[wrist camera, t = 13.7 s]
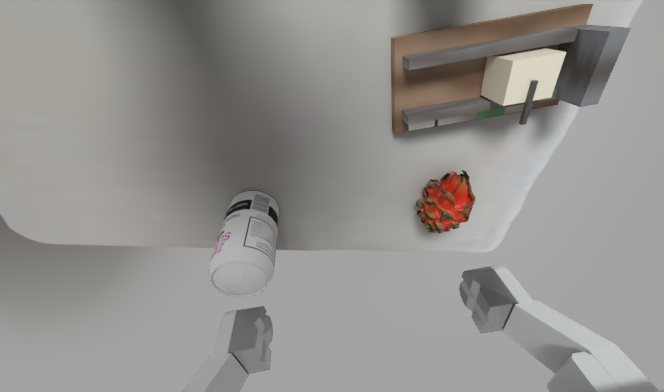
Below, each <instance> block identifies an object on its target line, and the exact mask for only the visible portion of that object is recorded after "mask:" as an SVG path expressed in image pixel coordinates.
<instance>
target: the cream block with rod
mask: <svg viewBox="0 0 664 392" xmlns="http://www.w3.org/2000/svg"><path fill="white" fill-rule="evenodd" d="M565 55H566V52H564V51H558V50H552V49H547V48H541V47H539V48H533V49H527V50H522V51H516V52H510V53H505V54H499V55H493V56H488V57H487V61H486V66H485V72H484V77H483V83H482V89H481V94H480V95H482V96H484V97H486V98H488V99H490V100H492V101H494V102H496V103H498V104H500V105H502V106H506V105H512V104H517V103H523V102H525V104H524V107H523V111H522V115H521V118H520V122H519V124H521V125H523V124H526V121H527V118H528V114H529V111H530V107H531V104H532V101H534V100H540V99H546V98H551V97H552V94H553V91H554V88H555V85H556V82H557V79H558V76H559V73H560V70H561V67H562V64H563V61H564V58H565Z"/></svg>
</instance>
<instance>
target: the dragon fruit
mask: <svg viewBox="0 0 664 392" xmlns="http://www.w3.org/2000/svg"><path fill="white" fill-rule="evenodd" d="M462 172H463V173H464V174H460V175H457V173H456V172H451V173H447V174H446V175H444V176H443V177H442V179H443V178H444V179H445V178H447V177H448V176H449V175H450V177H449V178H448V179H447V180H446V181H444V182H442V183H441V184H440V183H439V182H438V181H437V180H432V179H431V180H430V181H429V182H428V185H433V184H435V188H431V187H430V186H427V187H426V188H425V189H424V195H425V199H420V200H418V201H417V202H416V205H417V207H418V204H417V203H423V205H424V207H422V208H420V209H419V210H418V211H417V214H419V216H421V221H422V222H423V223H424V226H425V227H426V228H427V229H428V231H429V232H436V231H438V233H442V232H444V231H450V228H453V229H456V228H458V227H459V223H461V222H467V221H468V219H469V215H470V212H471V210H472V206H473V204H474V202H475V197H474V195H473V193H472V191H471V186H470V183H469V176H468V175H467V173H466V172H465V171H463V170H462ZM442 179H441V180H442ZM444 179H443V180H444ZM427 192H428V194H427ZM427 196H428V197H427Z"/></svg>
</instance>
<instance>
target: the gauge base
mask: <svg viewBox="0 0 664 392" xmlns="http://www.w3.org/2000/svg"><path fill="white" fill-rule="evenodd" d="M592 6H593V4H580V5H575V6H569V7H563V8H558V9H552V10H546V11H541V12H535V13H529V14H524V15H518V16H512V17H506V18H501V19H495V20H489V21H484V22H478V23H472V24H467V25H461V26H455V27H450V28H444V29H438V30H432V31H427V32H421V33H415V34H410V35H404V36H398V37H393V38H391V75H392V130H393V131H394V133H398V132H404V131H411V130H417V129H423V128H429V127H434V126H435V127H436V126H440V125H446V124H451V123H457V122H463V121H469V120H474V119H481V118H487V117H493V116H498V115H504V114H509V113H514V112H520V111H523V107H524V104H525V102H523V103H517V104H512V105H506V106H502V105H500V104H498V103H496V102H494V101H492V100H490V99H488V98H486V97H484V96H482V95H480V94H481V89H482V83H483V77H484V72H485V66H486V61H487V57H488V56H493V55H499V54H505V53H510V52H516V51H522V50H527V49H533V48H539V47H541V48H547V49H552V50H558V51H564V52H566V55H565V58H564V61H563V64H562V67H561V70H560V73H559V76H558V79H557V82H556V85H555V88H554V91H553V94H552V97H551V98H546V99H540V100H534V101H532V104H531V107H530V110H531V109H535V108H541V107H547V106H552V105H558V102H559V100H562V101H565V102H568V103H570V104H573V105H576V106H579V107H582V106H588V105H593V104H598V101H599V99H600V97H601V94H602V92H603V90H604V88H605V85H606V83H607V81H608V79H609V76H610V74H611V72H612V69H613V67H614V65H615V63H616V60H617V58H618V56H619V53H620V51H621V49H622V47H623V45H624V42H625V40H626V37H627V35H628V33H629V31H630V29H631V28H624V27H610V26H596V25H586V23H587V20H588V17H589V14H590V11H591V9H592Z"/></svg>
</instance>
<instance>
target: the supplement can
mask: <svg viewBox="0 0 664 392" xmlns="http://www.w3.org/2000/svg"><path fill="white" fill-rule="evenodd" d="M278 220H279V208H278V204H277V203H276V202H275V200H274V199H273V198H272V197H270V196H269V195H267V194H265V193H262V192H259V191H246V192H242V193H240V194H238V195H237V196H235V197H234V198H233V199H232V201H231V202H230V205H229V207H228V210H227V213H226V216H225V219H224V222H223V225H222V228H221V231H220V234H219V237H218V239H217V242H216V245H215V248H214V251H213V254H212V257H211V260H210V263H209V274H210V277H211V283H212V285H213V287H214V288H215V289H217V290H218V291H219V292H221V293H223V294H225V295H228V296H234V297H249V296H253V295H256V294H258V293H260V292H262V291H263V290H264V288H265V287H266V286H267V283H268V282H269V281H270V280H271V278H272V275H273V272H274V262H275V252H276V242H277V231H278Z"/></svg>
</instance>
